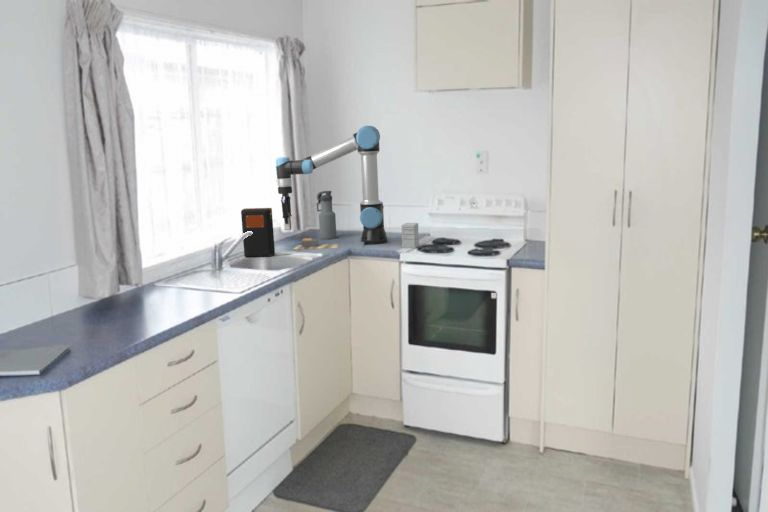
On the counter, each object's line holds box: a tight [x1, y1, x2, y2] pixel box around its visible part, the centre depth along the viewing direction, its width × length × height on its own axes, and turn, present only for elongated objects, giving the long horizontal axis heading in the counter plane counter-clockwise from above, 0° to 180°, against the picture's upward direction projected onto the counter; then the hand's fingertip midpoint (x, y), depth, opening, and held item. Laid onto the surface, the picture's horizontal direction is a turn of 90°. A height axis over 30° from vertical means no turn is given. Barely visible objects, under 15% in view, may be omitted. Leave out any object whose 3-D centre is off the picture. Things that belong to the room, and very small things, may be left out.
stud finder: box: [301, 237, 319, 247], centre depth 378 cm, size 8×4×4 cm, turn 86°
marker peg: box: [283, 213, 292, 231], centre depth 376 cm, size 3×3×9 cm
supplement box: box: [401, 222, 420, 249], centre depth 369 cm, size 7×7×13 cm
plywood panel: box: [293, 243, 341, 250], centre depth 375 cm, size 24×12×1 cm, turn 86°
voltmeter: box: [240, 207, 276, 258], centre depth 359 cm, size 16×9×25 cm, turn 84°
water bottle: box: [316, 190, 337, 240], centre depth 406 cm, size 10×10×28 cm
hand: (288, 228), depth 376 cm, fingers closed on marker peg, 3 cm apart
